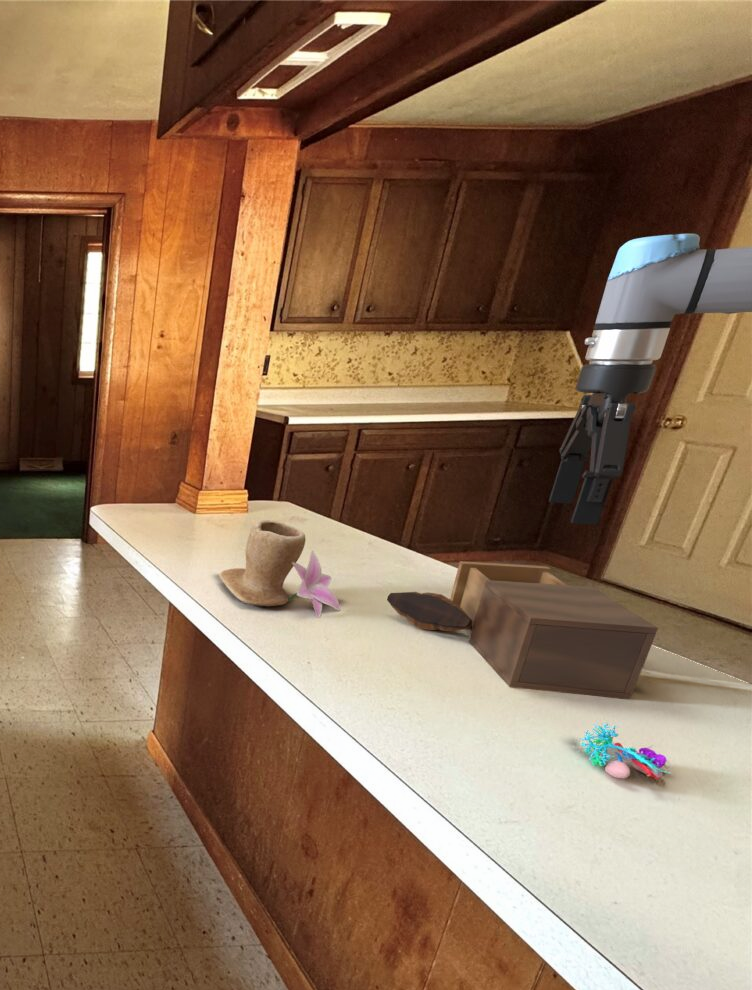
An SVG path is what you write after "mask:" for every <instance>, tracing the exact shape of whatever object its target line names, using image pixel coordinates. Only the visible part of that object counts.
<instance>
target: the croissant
mask: <svg viewBox="0 0 752 990" xmlns="http://www.w3.org/2000/svg"><path fill="white" fill-rule="evenodd" d="M386 600H387V602H388V604H389V605H390V606H391V608H393V609H394V611H396V613H397V614H398V615H400V616H401V617H404V618H406V619H407V621H408V622H409V623H411V625H413V626H415V627H416V628H418V629H420V630H430V631H434V630H440V631H442V632H451V631H464V630H469V629H470V628H471V627H473V626H472V623H473V621H472V620H471V618H470V617H469V616H468V615H467V614H466V613H465V612H464V611H463V610H462V608H461V607H460V606H458V605H455V604H453V602H452V601H451V600H450V597H447V596H445V595H443V594H442V593H437V592H422V593H421V592H418V591H406V592H405V591H404V592H403V591H402V592H390V593H389V594H388V595H387V597H386Z"/></svg>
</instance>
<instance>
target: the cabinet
mask: <svg viewBox="0 0 752 990" xmlns="http://www.w3.org/2000/svg"><path fill="white" fill-rule="evenodd" d="M471 627H472V628H471V632H470V634H469V638H468V643H469V644H470V645H471V646H472V647H473V648H474V649H475V651H476V652H477V653H478V654H479V655H480V656H481V657H482V658H483V659H484V661H485V662H486V663H487V664H488V665H489V666H490V667H491V668H492V670H494V672H495V673H496V674H497V675H498V676H499V677H500V678H501V679H502V680H503V682H504V683H505V684H506V685H507V687H509V688H517V689H529V690H538V691H545V692H556V693H557V692H558V693H566V694H574V695H575V694H576V695H584V696H593V697H604V698H613V699H623V700H624V699H625V700H631V698H632V696H633V693H634V691H635V688H636V685H637V684H638V680H639V679H640V675H641V673H642V670H643V668H644V666H645V664H646V663H645V662H646V660H647V657H648V655H649V653H650V650H651V647H652V646H653V643H654V640H655V637H656V636H657V635H656V634H657V632H658V629H659V627H658V626H657V625H654V624H652V623H651V622H649V621H648V620H647V619H645V618H643V617H642V616H640V615H638V614H637V613H635V612H634V611H632V610H631V609H629V608H627V607H626V606H624V605H623V604H621V603H620V602H618V601H616V600H615V599H614V598H612V597H610V596H609V595H607V594H605V593H604V592H602V591H600V589H598V588H596V587H594V586H585V585H570V584H569V585H568V584H566V585H555V584H540V583H524V582H509V581H493V580H486V581H485V585H484V588H483V592H482V595H481V599H480V602H479V606H478V610H477V613H476V617H475V620H474V624H473V626H471Z"/></svg>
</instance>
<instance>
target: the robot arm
mask: <svg viewBox="0 0 752 990" xmlns="http://www.w3.org/2000/svg"><path fill="white" fill-rule="evenodd" d="M700 240H701V237H700V236H699V234H697V233H677V234H663V235H652V236H645V237H639V238H633V239H631V240H628V241H627V242H625V243H624V244H623V245H622V246H620V247H619V248H618V250H617V253H616V256H615V259H614V261H613V264H612V267H611V269H610V273H609V275H608V277H607V281H606V284H605V288H604V292H603V295H602V298H601V302H600V305H599V309H598V312H597V316H596V319H595V324H594V326H593V331H592V334H591V336H592V337H586V338H585V339H584V345H586V346H588V347H587V350H586V354H585V357H584V359H585V360H586V361H588V363H587V364H584V365H583V366H581V368H580V372H579V376H578V378H577V382H576V385H575V390H576V392H579V393H584V394H583V395H582V397H581V398H580V404H579V406H578V409H577V412H575V413H576V414H575V415H574V418H573V420H572V422H571V425H569V426H570V427H569V428H568V430H567V433H566V435H565V438H564V440H563V441H562V444H561V446H560V448H559V451H558V452H559V454H560V459H561V460H560V462H559V466H558V470H557V473H556V476H555V478H554V483H553V486H552V489H551V492H550V496H549V499H548V502H549V503H551V504H553V503H554V504H568V505H569V504H570V505H573V502H574V499H575V496H576V492H577V490H578V487H579V483H580V481H581V477H582V478H583V483H582V485H581V489H580V492H579V495H578V499H577V501H576V504H575V508H574V510H573V514H572V517H571V520H570V523H571V524H579V525H593V526H598V524H599V521H600V519H601V515H602V513H603V510H604V507H605V503H606V501H607V498H608V495H609V492H610V489H611V486H612V483H613V480H614V479H616V478H617V477H618V478H621V476H622V475H623V472H624V471H623V470H624V464H625V459H626V453H627V445H628V440H629V434H630V428H631V422H632V418H633V415H634V412H635V409H636V403H635V402H627V399H628V398H627V397H628V396H629V395H630V394H633V395H637V394H642V393H643V394H645V393H646V392H648V391H649V390H650V387H651V385H652V382H653V378H654V376H655V373H656V370H657V366H656V364H653V362H654V361H657V360H660V358H662V355H663V351H664V349H665V345H666V342H667V339H668V336H669V333H670V330H671V325H672V323H673V319H674V317H675V315H692V314H727V315H730V314H731V315H732V314H738V313H752V246H741V247H731V248H721V249H715V248H713V249H711V248H710V249H707V248H706V249H705V248H704V249H701V248H700V247H701V246H700V242H701V241H700ZM589 451H590V453H589ZM586 461H587V462H588V461H589V470H585V471H584V472H583V470H584V469H585V465H586Z"/></svg>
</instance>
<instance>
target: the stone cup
mask: <svg viewBox="0 0 752 990" xmlns="http://www.w3.org/2000/svg"><path fill="white" fill-rule="evenodd" d="M305 544H306V533H305V532H303V531H302V530H301V529H299V528H297V527H295V526H293V525H290V524H286V523H285V522H281V521H275V520H270V519H263V520H262V519H261V520H259V521H257V522H255V523H254V524H253V525H252V526H251V527H250V530H249V533H248V536H247V541H246V545H245V568H241V567H240V568H239V567H238V568H228V569H224V570H222V571H220V573H219V576H218V577H219V578H220V580H221V581H222V582H223V584H224V585H225V586H226V588H227V589H228V590H229V592H230V593H231V594H232V595H233V596H234V597H235V598H236V599H237V600H239V601H240V602H242V603H244V604H247V605H250V606H260V607H276V606H281V605H285V604H288V603H287V601H288V600H289V598H288V596H287V593H286V590H285V589H284V582H285V580H286V578H287V577H288V575H289V573H290V572H291V571H292V569H293V568H294V566H293V564H292V562H294V563H298V560H299V559H300V557H301V556H302V553H303V551H304V548H305Z"/></svg>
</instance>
